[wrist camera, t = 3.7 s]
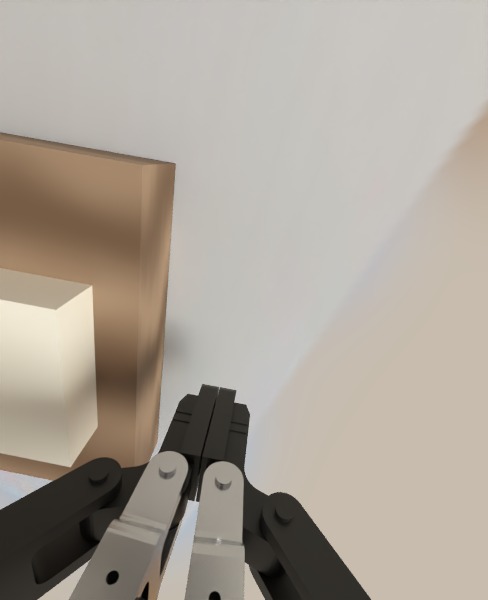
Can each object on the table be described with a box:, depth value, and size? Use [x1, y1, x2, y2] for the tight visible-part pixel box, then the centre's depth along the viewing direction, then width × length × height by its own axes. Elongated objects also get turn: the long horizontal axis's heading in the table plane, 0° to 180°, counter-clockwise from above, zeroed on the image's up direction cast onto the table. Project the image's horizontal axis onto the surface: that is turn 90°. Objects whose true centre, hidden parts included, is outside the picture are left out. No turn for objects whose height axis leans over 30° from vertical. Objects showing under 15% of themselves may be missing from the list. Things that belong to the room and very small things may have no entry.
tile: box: [0, 268, 98, 467], centre depth 14 cm, size 8×6×2 cm
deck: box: [0, 133, 176, 481], centre depth 17 cm, size 18×12×4 cm, turn 171°
